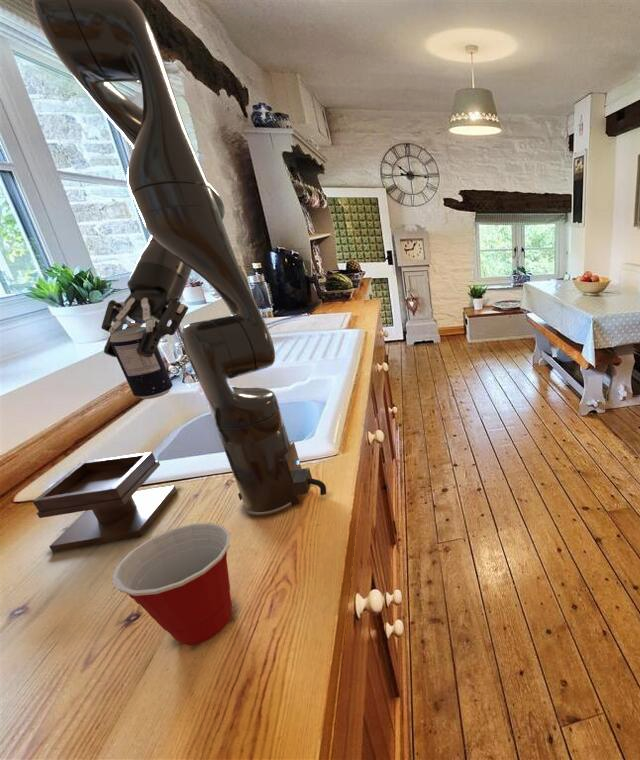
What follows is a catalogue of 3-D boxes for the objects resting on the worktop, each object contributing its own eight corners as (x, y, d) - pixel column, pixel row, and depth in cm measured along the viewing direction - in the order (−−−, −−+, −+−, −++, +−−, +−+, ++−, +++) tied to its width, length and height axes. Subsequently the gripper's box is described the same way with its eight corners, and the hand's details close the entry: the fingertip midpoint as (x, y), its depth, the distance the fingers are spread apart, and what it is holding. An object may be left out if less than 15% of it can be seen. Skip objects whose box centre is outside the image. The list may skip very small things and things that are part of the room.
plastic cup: (265, 624, 51) (237, 553, 46) (157, 688, 45) (111, 612, 40) (246, 572, 59) (220, 506, 54) (151, 620, 52) (112, 550, 48)
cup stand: (177, 490, 77) (158, 448, 73) (141, 536, 66) (117, 490, 62) (102, 502, 74) (79, 460, 71) (52, 552, 64) (22, 505, 60)
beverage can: (182, 387, 77) (157, 325, 72) (155, 401, 72) (127, 335, 67) (155, 387, 77) (129, 326, 73) (126, 400, 72) (96, 335, 68)
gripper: (108, 261, 73) (66, 345, 67) (180, 258, 71) (144, 345, 65) (146, 285, 80) (112, 364, 74) (213, 283, 78) (183, 364, 72)
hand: (127, 355), depth 70 cm, fingers closed on beverage can, 5 cm apart
